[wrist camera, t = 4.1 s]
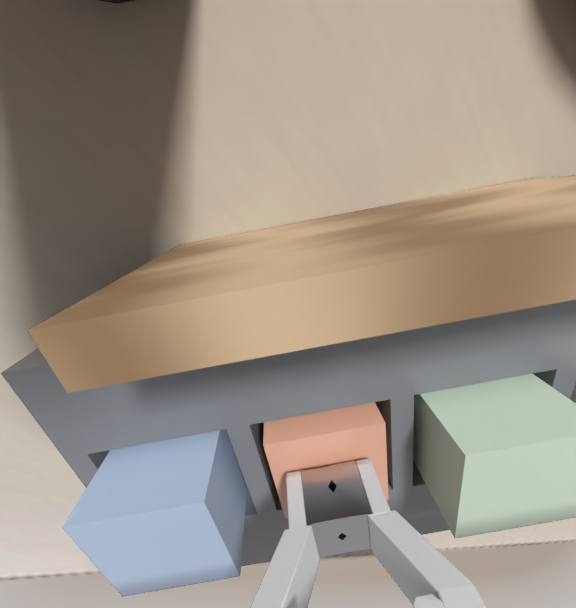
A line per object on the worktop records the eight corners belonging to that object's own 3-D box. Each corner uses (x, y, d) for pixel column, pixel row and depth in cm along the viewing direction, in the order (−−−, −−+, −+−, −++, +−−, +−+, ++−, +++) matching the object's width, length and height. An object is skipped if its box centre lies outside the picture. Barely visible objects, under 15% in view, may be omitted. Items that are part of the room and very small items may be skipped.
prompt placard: (533, 177, 10) (983, 151, 4) (526, 214, 11) (912, 245, 4) (178, 245, 10) (26, 330, 4) (189, 277, 11) (71, 399, 4)
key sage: (502, 352, 10) (613, 429, 7) (489, 425, 12) (575, 517, 9) (402, 370, 11) (465, 455, 7) (402, 441, 12) (454, 538, 9)
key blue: (225, 403, 11) (204, 502, 7) (248, 469, 12) (240, 575, 9) (128, 420, 11) (61, 527, 7) (163, 484, 12) (122, 596, 9)
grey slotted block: (633, 211, 11) (817, 221, 7) (565, 422, 16) (656, 493, 12) (89, 314, 11) (0, 373, 8) (182, 491, 16) (155, 581, 12)
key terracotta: (352, 357, 12) (385, 422, 8) (358, 422, 13) (388, 499, 10) (265, 373, 12) (263, 445, 9) (281, 436, 14) (285, 518, 10)
